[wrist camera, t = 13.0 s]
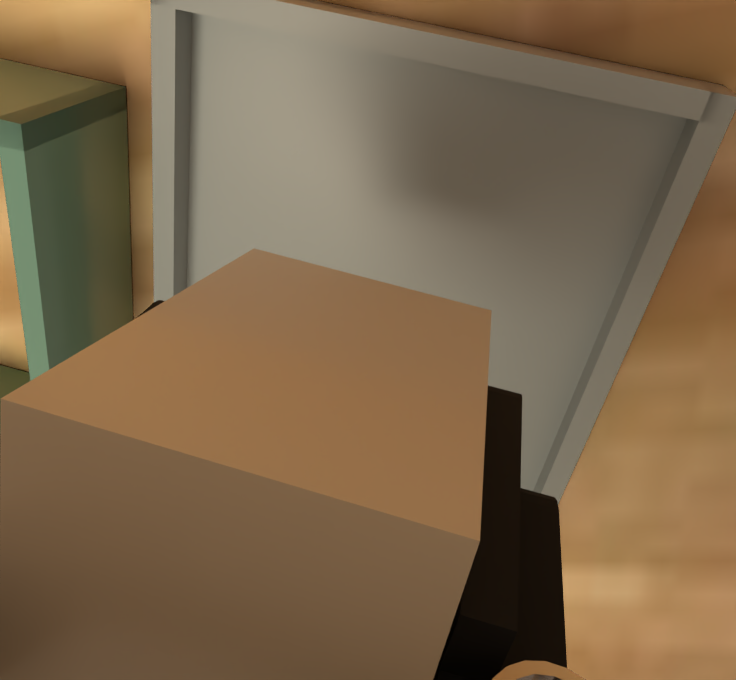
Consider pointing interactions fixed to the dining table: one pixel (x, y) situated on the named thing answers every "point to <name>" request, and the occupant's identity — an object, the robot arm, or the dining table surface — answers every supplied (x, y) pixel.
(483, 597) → the robot arm
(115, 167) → the green open box
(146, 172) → the dining table surface
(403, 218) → the slate tray
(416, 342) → the tan block
